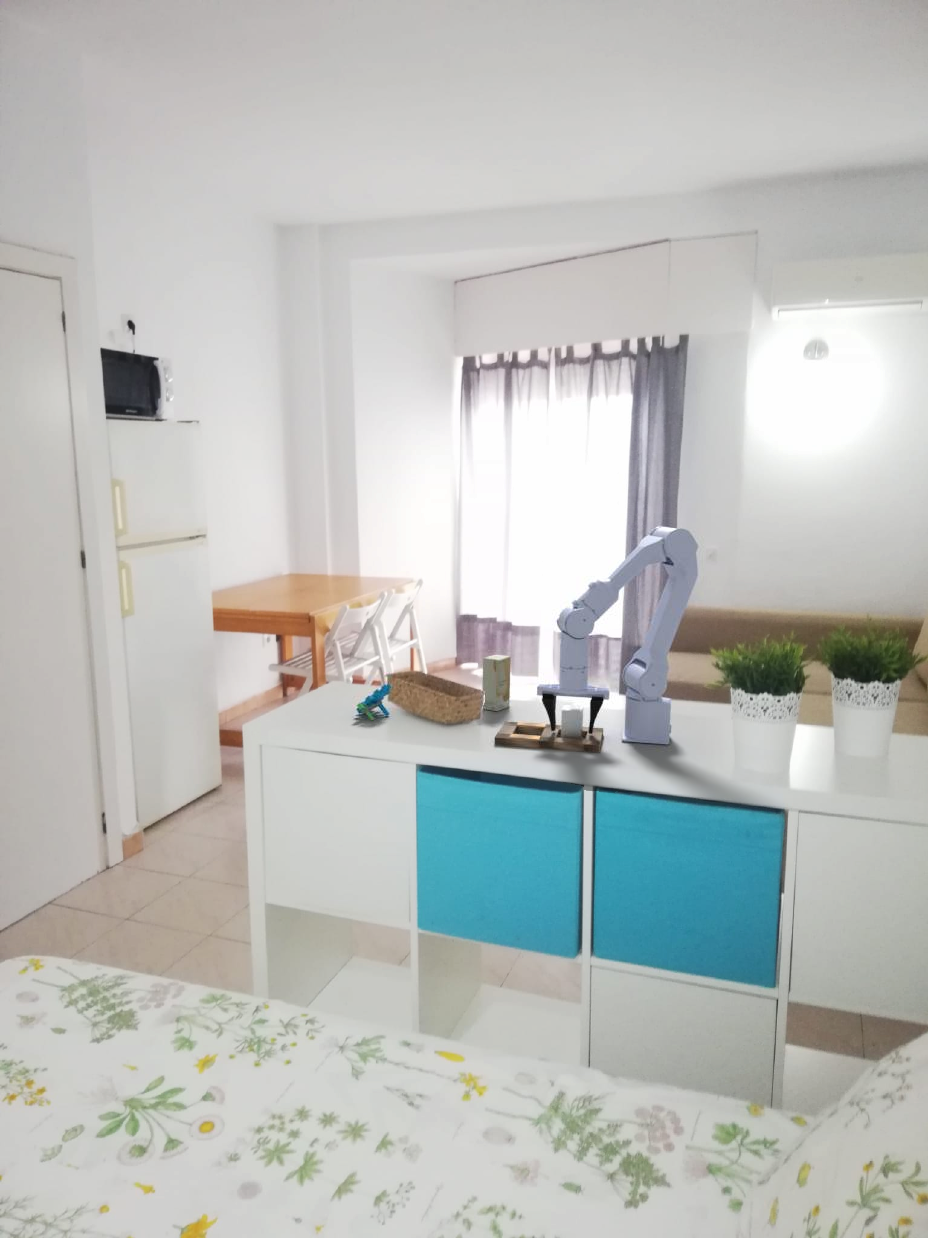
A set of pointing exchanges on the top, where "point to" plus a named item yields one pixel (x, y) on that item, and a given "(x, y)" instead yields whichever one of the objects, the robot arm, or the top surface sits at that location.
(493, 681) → the skincare box
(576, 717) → the steel block
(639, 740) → the robot arm
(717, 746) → the top surface
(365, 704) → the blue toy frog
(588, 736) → the socket plate
